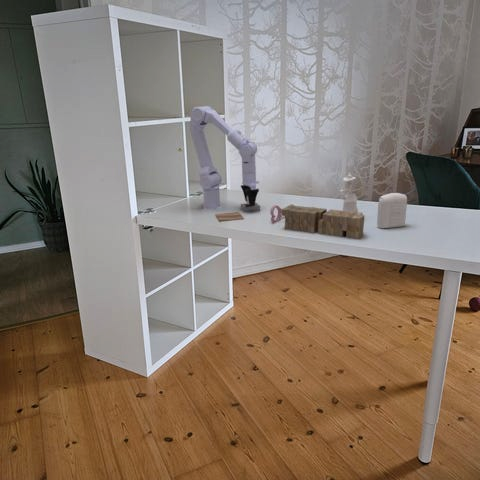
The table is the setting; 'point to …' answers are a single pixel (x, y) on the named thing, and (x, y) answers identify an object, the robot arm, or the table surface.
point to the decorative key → (274, 215)
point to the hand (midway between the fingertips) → (250, 203)
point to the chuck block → (250, 208)
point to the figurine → (349, 195)
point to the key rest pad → (229, 216)
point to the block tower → (324, 221)
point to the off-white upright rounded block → (392, 210)
